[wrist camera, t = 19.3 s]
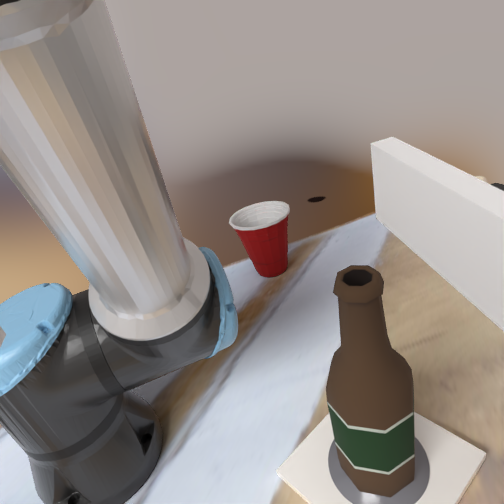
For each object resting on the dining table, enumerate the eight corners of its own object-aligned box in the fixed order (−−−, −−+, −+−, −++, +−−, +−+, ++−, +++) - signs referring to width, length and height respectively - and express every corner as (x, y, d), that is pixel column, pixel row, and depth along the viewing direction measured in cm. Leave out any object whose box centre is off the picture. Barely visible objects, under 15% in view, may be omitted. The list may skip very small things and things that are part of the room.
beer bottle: (331, 435, 46) (296, 259, 34) (400, 421, 46) (390, 237, 34) (350, 508, 40) (315, 322, 27) (432, 492, 39) (434, 296, 27)
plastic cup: (291, 245, 84) (280, 191, 77) (308, 274, 74) (297, 215, 68) (239, 261, 83) (223, 208, 77) (250, 292, 74) (233, 234, 67)
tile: (277, 475, 45) (275, 469, 45) (359, 385, 53) (359, 379, 52) (404, 591, 35) (404, 585, 34) (485, 458, 42) (486, 452, 41)
